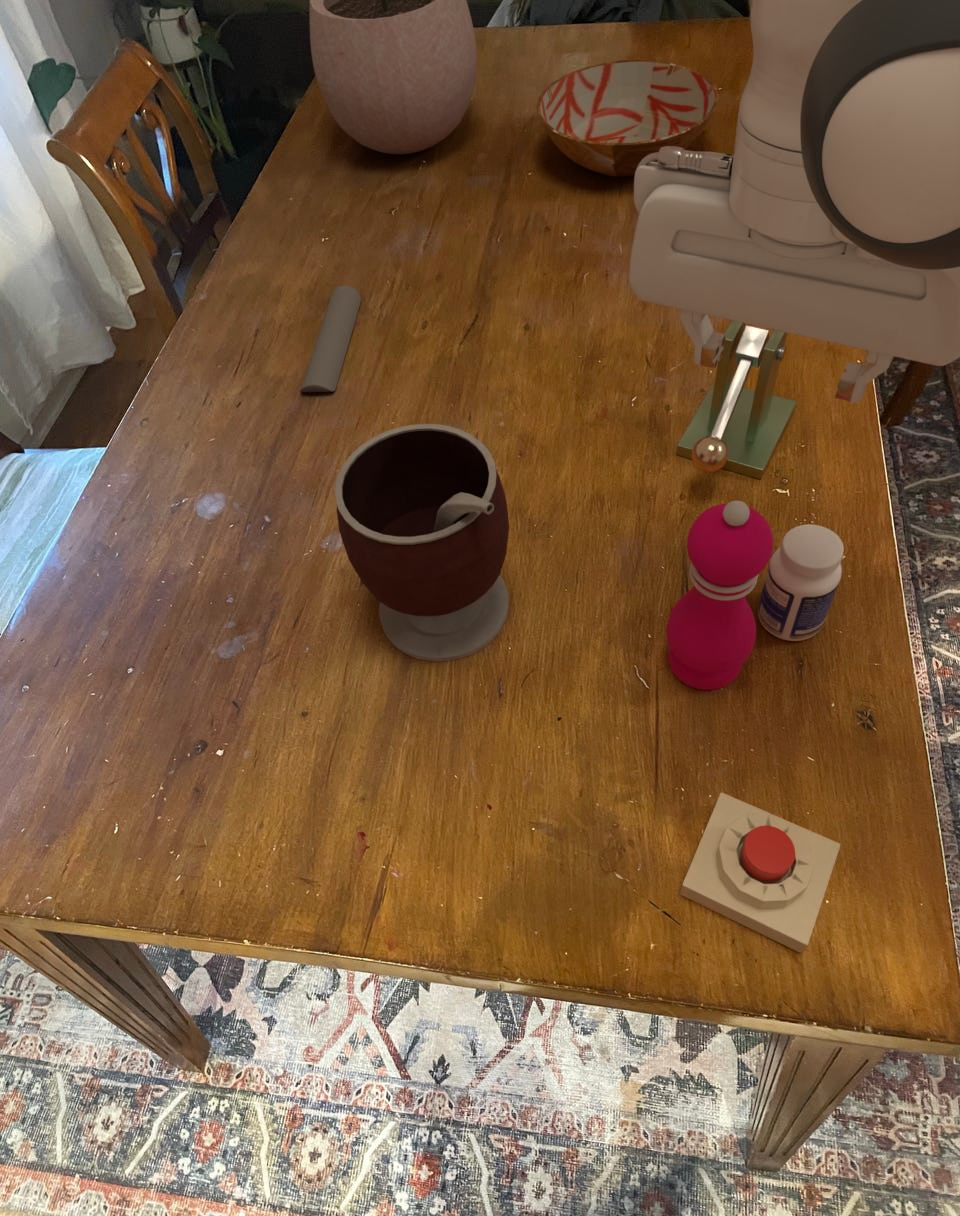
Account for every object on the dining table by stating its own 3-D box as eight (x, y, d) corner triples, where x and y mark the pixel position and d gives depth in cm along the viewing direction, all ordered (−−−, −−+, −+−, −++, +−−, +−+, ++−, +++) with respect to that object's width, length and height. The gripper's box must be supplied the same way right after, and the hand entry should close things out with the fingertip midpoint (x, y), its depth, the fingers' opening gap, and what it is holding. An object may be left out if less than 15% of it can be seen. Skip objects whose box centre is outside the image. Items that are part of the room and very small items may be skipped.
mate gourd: (342, 613, 81) (281, 463, 65) (445, 528, 86) (412, 368, 70) (456, 707, 74) (419, 565, 58) (561, 608, 79) (555, 451, 63)
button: (796, 847, 60) (801, 838, 59) (781, 890, 59) (786, 882, 57) (749, 826, 61) (753, 817, 60) (733, 867, 60) (737, 859, 58)
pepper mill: (665, 622, 77) (686, 463, 61) (747, 629, 75) (792, 469, 59) (659, 690, 73) (681, 540, 57) (747, 700, 71) (794, 549, 55)
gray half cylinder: (299, 397, 100) (295, 385, 99) (331, 297, 111) (328, 285, 110) (333, 397, 100) (330, 384, 98) (362, 296, 111) (359, 284, 109)
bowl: (732, 126, 127) (740, 67, 121) (680, 214, 115) (686, 154, 108) (575, 108, 135) (575, 52, 129) (511, 189, 123) (507, 132, 116)
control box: (833, 854, 63) (847, 834, 60) (801, 953, 60) (813, 938, 56) (717, 802, 66) (724, 781, 63) (679, 894, 63) (684, 876, 59)
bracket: (760, 480, 86) (785, 378, 75) (675, 454, 89) (688, 354, 78) (794, 411, 91) (821, 307, 80) (713, 390, 94) (729, 287, 84)
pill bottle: (826, 597, 77) (854, 525, 68) (820, 649, 73) (848, 579, 65) (760, 585, 78) (780, 513, 70) (751, 636, 75) (772, 566, 67)
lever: (721, 480, 82) (719, 470, 79) (688, 470, 83) (684, 460, 80) (775, 344, 82) (775, 329, 79) (741, 336, 83) (739, 321, 80)
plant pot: (320, 185, 129) (259, -54, 105) (349, 110, 143) (301, -117, 118) (476, 178, 126) (450, -71, 101) (491, 102, 139) (471, -133, 115)
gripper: (612, 169, 47) (611, 369, 59) (1013, 233, 40) (925, 450, 51) (657, 116, 50) (648, 316, 61) (1040, 166, 43) (950, 385, 54)
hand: (776, 377), depth 56 cm, fingers open, 8 cm apart
